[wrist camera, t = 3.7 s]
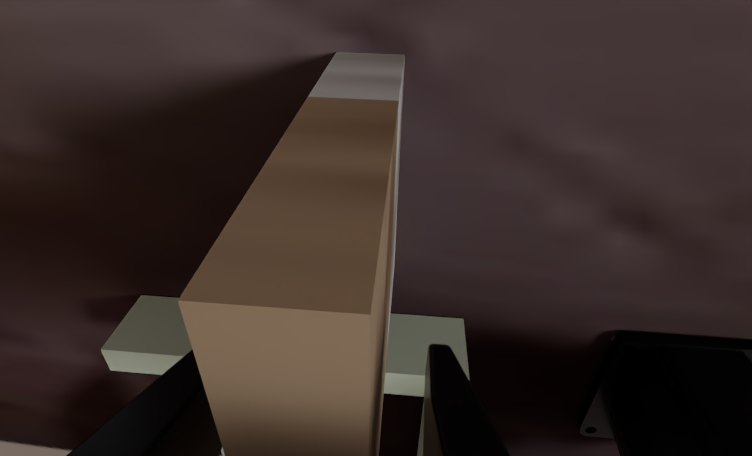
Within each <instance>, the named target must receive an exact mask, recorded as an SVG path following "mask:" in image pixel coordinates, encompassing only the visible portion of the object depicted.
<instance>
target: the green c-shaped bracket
mask: <svg viewBox="0 0 752 456" xmlns="http://www.w3.org/2000/svg"><path fill="white" fill-rule="evenodd" d="M178 299H179V298H174V297H160V296H147V295H141V296H140V297H139V299H138V300H137V301H136V303H135V304H134V305H133V307H132V308H131V309H130V311H129V312H128V313H127V315H126V316H125V317H124V319H123V320H122V321H121V323H120V324H119V325H118V327H117V328H116V329H115V331H114V332H113V334H112V335H111V336H110V338H109V339H108V340H107V342H106V343H105V344H104V346H103V347H102V348H101V352H102V354H103V356H104V358H105V360H106V362H107V364H108V366H109V368H110V370H111V371H123V372H135V373H147V374H159V375H162V374H164V373H165V372H166V371H167V370H168V369H169V368H171V367H172V366H173V365H174V364H175V363H177V362H178V361H179V360H180V359H181V358H182V357H184V356H185V355H186V354H187V353H188V352H190V351H191V350H192V346H191V343H190V339H189V336H188V333H187V330H186V326H185V323H184V320H183V316H182V313H181V310H180V307H179V303H178ZM430 344H445V345H448V346H450V347H451V349H452V351H453V352H454V354H455V356H456V358H457V360H458V362H459V363H460V365H461V367H462V369H463V371H464V372H465V374H466V376H467V378H468V380H470V379H469V369H468V359H467V349H466V339H465V329H464V319H461V318H447V317H434V316H420V315H406V314H393V313H390V323H389V335H388V348H387V360H386V372H385V384H384V393H386V394H398V395H409V396H421V397H424V389H425V369H426V361H427V352H428V346H429V345H430ZM423 432H424V403H423V411H422V419H421V427H420V435H419V443H418V452H417V456H423ZM219 456H223V455H221V454H219Z"/></svg>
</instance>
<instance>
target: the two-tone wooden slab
mask: <svg viewBox="0 0 752 456" xmlns="http://www.w3.org/2000/svg"><path fill="white" fill-rule="evenodd" d="M404 62H405V55H396V54H370V53H345V52H336V53H335V55H334V56H333V58H332V60H331V61H330V63H329V64H328V66H327V67H326V69H325V71H324V72H323V74H322V75H321V77H320V78H319V80H318V82H317V83H316V85H315V86H314V88H313V89H312V91H311V92H310V94H309V96H308V97H307V99H306V100H305V102H304V103H303V105H302V107H301V108H300V110H299V111H298V113H297V114H296V116H295V118H294V119H293V121H292V122H291V124H290V125H289V127H288V128H287V130H286V132H285V133H284V135H283V136H282V138H281V139H280V141H279V143H278V144H277V146H276V147H275V149H274V150H273V152H272V154H271V155H270V157H269V158H268V160H267V161H266V163H265V164H264V166H263V168H262V169H261V171H260V172H259V174H258V175H257V177H256V179H255V180H254V182H253V183H252V185H251V186H250V188H249V190H248V191H247V193H246V194H245V196H244V197H243V199H242V200H241V202H240V204H239V205H238V207H237V208H236V210H235V211H234V213H233V215H232V216H231V218H230V219H229V221H228V222H227V224H226V226H225V227H224V229H223V230H222V232H221V233H220V235H219V236H218V238H217V240H216V241H215V243H214V244H213V246H212V247H211V249H210V251H209V252H208V254H207V255H206V257H205V258H204V260H203V262H202V263H201V265H200V266H199V268H198V269H197V271H196V272H195V274H194V276H193V277H192V279H191V280H190V282H189V283H188V285H187V287H186V288H185V290H184V291H183V293H182V294H181V296H180V298H179V299H178V303H179V307H180V310H181V313H182V316H183V320H184V323H185V326H186V330H187V333H188V336H189V339H190V343H191V346H192V349H193V352H194V356H195V359H196V362H197V366H198V369H199V372H200V375H201V379H202V382H203V385H204V388H205V392H206V395H207V398H208V401H209V405H210V408H211V411H212V415H213V418H214V421H215V424H216V428H217V431H218V434H219V437H220V441H221V444H222V447H223V451H224V454H225V456H379V444H380V432H381V420H382V408H383V396H384V384H385V372H386V360H387V348H388V335H389V323H390V311H391V299H392V287H393V275H394V259H395V239H396V219H397V200H398V180H399V160H400V140H401V121H402V101H403V81H404Z"/></svg>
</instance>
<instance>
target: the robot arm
mask: <svg viewBox="0 0 752 456" xmlns="http://www.w3.org/2000/svg"><path fill="white" fill-rule="evenodd" d="M577 425H578V428H579V432H580V433H581V434H582V435H584V436H589V437H600V438H612V439H615V441H616V443H617V446H618V450H619V453H620V456H752V342H738V341H724V340H711V339H697V338H684V337H670V336H656V335H643V334H623V335H620V336H618V337H617V338H615V340H614V341H613V343H612V345H611V347H610V350H609V352H608V354H607V356H606V359H605V361H604V363H603V365H602V368H601V370H600V372H599V374H598V377H597V379H596V381H595V383H594V385H593V388H592V390H591V392H590V394H589V397H588V399H587V401H586V403H585V406H584V408H583V410H582V412H581V415H580V417H579V419H578V421H577ZM221 449H222V444H221V441H220V437H219V434H218V431H217V428H216V424H215V421H214V418H213V415H212V411H211V408H210V405H209V401H208V398H207V395H206V392H205V388H204V385H203V382H202V379H201V375H200V372H199V369H198V366H197V362H196V359H195V356H194V352H193V349H192V350H191V351H190V352H188V353H187V354H186V355H185V356H184V357H182V358H181V359H180V360H179V361H178V362H177V363H175V364H174V365H173V366H172V367H171V368H169V369H168V370H167V371H166V372H165V373H164V374H162V375H161V376H160V377H159V378H158V379H156V380H155V381H154V382H153V383H152V384H151V385H149V386H148V387H147V388H146V389H145V390H143V391H142V392H141V393H140V394H139V395H138V396H136V397H135V398H134V399H133V400H132V401H131V402H129V403H128V404H127V405H126V406H125V407H123V408H122V409H121V410H120V411H119V412H118V413H116V414H115V415H114V416H113V417H112V418H110V419H109V420H108V421H107V422H106V423H105V424H103V425H102V426H101V427H100V428H99V429H97V430H96V431H95V432H94V433H93V434H92V435H90V436H89V437H88V438H87V439H86V440H84V441H83V442H82V443H81V444H80V445H79V446H77V447H76V448H75V449H74V450H73V451H71V452H70V453H69V454H68V455H67V456H219V454H220V452H221ZM423 456H510V455H509V453H508V451H507V449H506V447H505V445H504V444H503V442H502V440H501V438H500V436H499V435H498V433H497V431H496V429H495V427H494V425H493V424H492V422H491V420H490V418H489V416H488V414H487V413H486V411H485V409H484V407H483V405H482V404H481V402H480V400H479V398H478V396H477V394H476V393H475V391H474V389H473V387H472V385H471V383H470V382H469V380H468V378H467V376H466V374H465V372H464V371H463V369H462V367H461V365H460V363H459V362H458V360H457V358H456V356H455V354H454V352H453V351H452V349H451V347H450V346H448V345H445V344H430V345H429V346H428V352H427V361H426V369H425V389H424V432H423Z"/></svg>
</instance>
